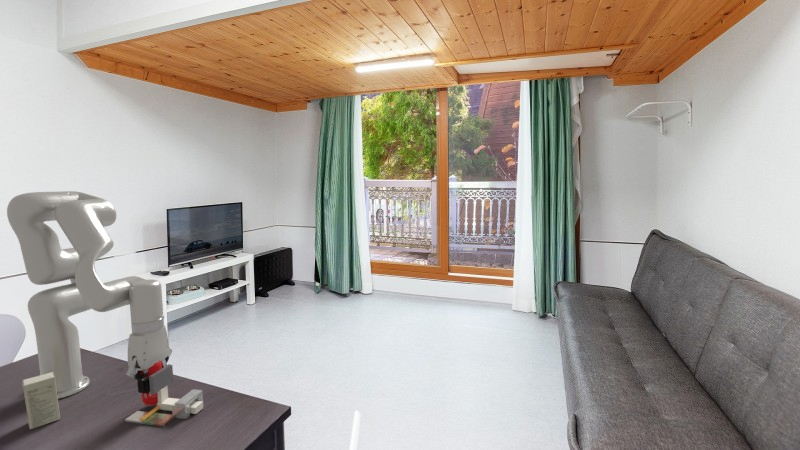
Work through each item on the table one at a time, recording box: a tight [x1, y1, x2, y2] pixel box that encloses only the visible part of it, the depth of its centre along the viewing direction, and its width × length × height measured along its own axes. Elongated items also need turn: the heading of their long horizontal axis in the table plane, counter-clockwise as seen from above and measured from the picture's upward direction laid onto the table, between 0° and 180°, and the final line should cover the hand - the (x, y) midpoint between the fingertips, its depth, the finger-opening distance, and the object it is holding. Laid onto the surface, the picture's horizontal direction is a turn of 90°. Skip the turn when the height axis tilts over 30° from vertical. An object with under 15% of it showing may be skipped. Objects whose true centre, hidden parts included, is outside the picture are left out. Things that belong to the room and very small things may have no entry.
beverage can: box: [141, 360, 162, 407], centre depth 110 cm, size 5×5×12 cm
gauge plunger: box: [140, 363, 204, 421], centre depth 107 cm, size 12×11×11 cm
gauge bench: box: [124, 389, 204, 427], centre depth 108 cm, size 15×11×4 cm
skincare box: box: [22, 372, 61, 430], centre depth 104 cm, size 6×4×12 cm
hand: (152, 386), depth 111 cm, fingers closed on beverage can, 5 cm apart
